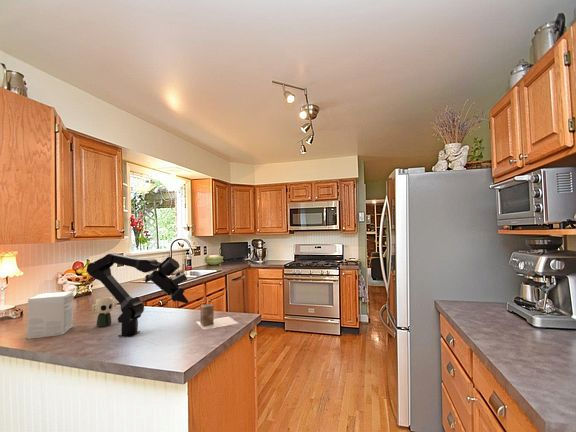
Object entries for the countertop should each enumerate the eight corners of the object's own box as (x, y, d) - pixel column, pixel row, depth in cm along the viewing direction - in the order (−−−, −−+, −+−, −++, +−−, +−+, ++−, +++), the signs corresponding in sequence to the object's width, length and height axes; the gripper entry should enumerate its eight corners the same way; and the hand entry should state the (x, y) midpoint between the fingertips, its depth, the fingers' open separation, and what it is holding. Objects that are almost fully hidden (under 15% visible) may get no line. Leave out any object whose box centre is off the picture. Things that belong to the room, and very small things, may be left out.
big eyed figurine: (94, 329, 133) (95, 302, 134) (88, 327, 137) (89, 300, 138) (119, 323, 142) (119, 297, 143) (112, 321, 146) (113, 296, 147)
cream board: (203, 331, 129) (203, 329, 129) (196, 323, 141) (196, 322, 141) (238, 324, 138) (238, 323, 138) (228, 317, 150) (228, 316, 150)
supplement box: (73, 326, 139) (74, 290, 140) (62, 335, 127) (64, 295, 128) (39, 330, 134) (41, 293, 135) (25, 339, 122) (27, 298, 123)
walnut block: (203, 326, 133) (203, 307, 134) (200, 323, 137) (200, 305, 138) (213, 324, 136) (213, 305, 136) (210, 322, 140) (210, 303, 141)
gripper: (179, 269, 123) (205, 292, 128) (173, 266, 139) (195, 286, 144) (160, 290, 119) (187, 312, 123) (155, 283, 135) (179, 304, 139)
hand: (187, 302), depth 133 cm, fingers closed
